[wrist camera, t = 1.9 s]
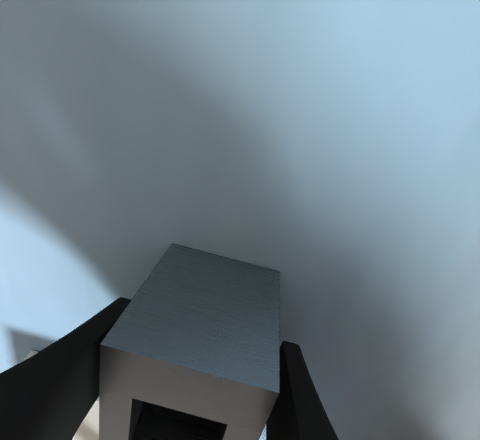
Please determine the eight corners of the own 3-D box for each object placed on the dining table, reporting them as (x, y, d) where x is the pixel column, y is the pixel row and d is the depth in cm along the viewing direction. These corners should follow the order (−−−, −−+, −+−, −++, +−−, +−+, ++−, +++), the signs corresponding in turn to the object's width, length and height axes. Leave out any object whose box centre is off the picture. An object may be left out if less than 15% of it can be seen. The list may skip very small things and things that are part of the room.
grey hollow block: (171, 243, 11) (99, 344, 7) (279, 271, 11) (279, 393, 7) (157, 347, 14) (98, 471, 9) (245, 371, 14) (228, 508, 9)
